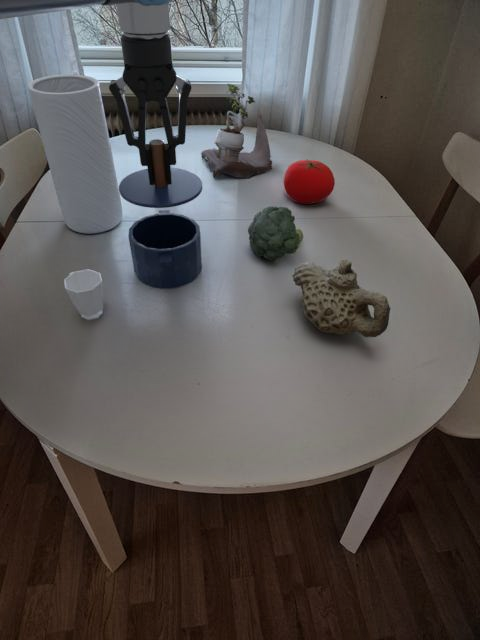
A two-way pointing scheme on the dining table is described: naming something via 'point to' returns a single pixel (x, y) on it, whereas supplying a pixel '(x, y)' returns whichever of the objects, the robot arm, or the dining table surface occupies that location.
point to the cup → (86, 292)
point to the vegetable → (274, 233)
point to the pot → (166, 249)
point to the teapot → (340, 300)
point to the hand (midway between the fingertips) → (160, 181)
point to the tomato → (308, 181)
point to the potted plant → (239, 145)
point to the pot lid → (160, 183)
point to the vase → (78, 150)
